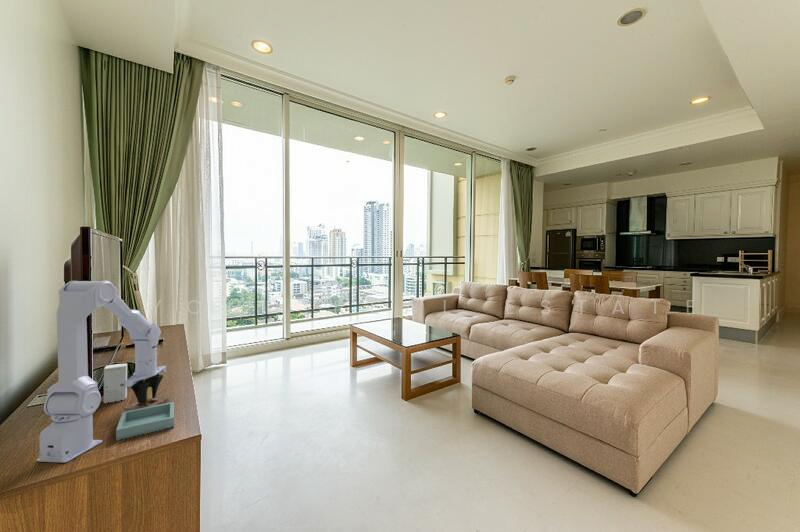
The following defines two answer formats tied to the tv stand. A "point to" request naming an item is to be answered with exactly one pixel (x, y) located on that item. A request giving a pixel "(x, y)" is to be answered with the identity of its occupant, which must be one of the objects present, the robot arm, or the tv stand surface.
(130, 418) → the tray
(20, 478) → the tv stand surface
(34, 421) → the tv stand surface
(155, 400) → the collar
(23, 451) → the tv stand surface
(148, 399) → the pin
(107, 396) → the skincare box
